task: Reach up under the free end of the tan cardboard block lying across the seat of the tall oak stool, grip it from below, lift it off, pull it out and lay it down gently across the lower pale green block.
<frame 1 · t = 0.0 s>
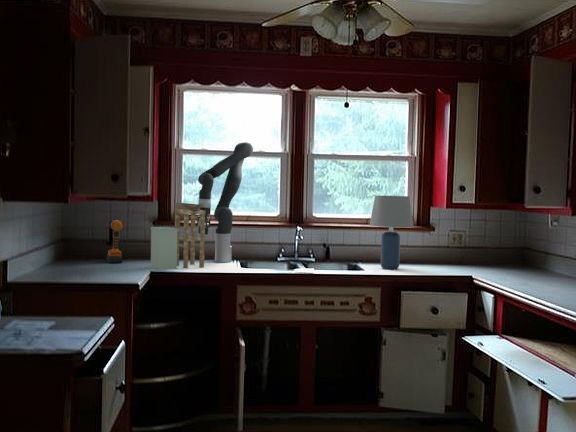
hand: (203, 233, 347), 17 cm above the worktop, tool pointing down, fingers open, 8 cm apart
lamp: (389, 269, 342), on the worktop
stool: (189, 266, 330), on the worktop
power drill: (113, 261, 342), on the worktop
pale green block: (163, 267, 322), on the worktop
tan cardboard block: (187, 209, 332), point 32 cm above the worktop, touching stool
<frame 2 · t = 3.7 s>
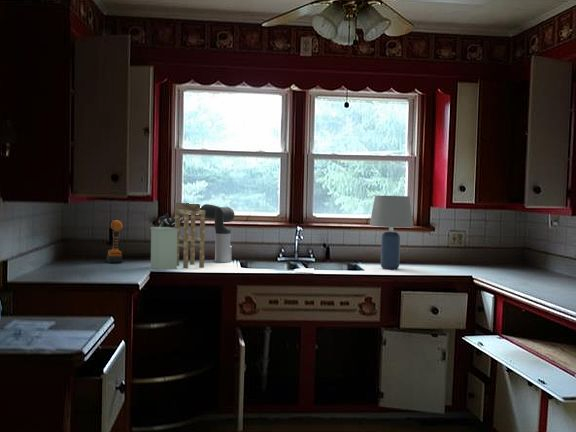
hand: (174, 214, 349), 28 cm above the worktop, tool pointing upward, fingers open, 8 cm apart
nothing on the worktop moved.
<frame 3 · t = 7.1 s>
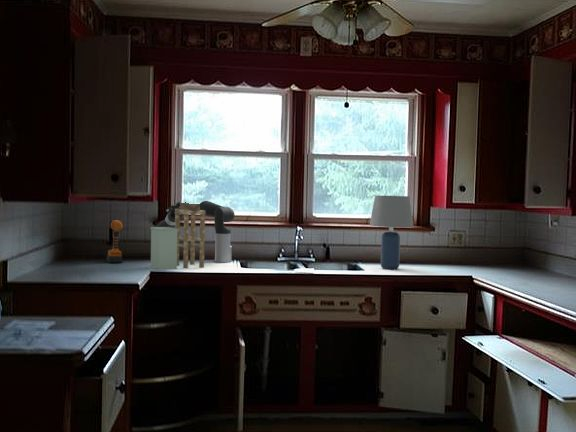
hand: (182, 203, 338), 35 cm above the worktop, tool pointing upward, fingers closed on tan cardboard block, 3 cm apart
tan cardboard block: (187, 209, 332), point 32 cm above the worktop, touching gripper, stool
everything else where it was.
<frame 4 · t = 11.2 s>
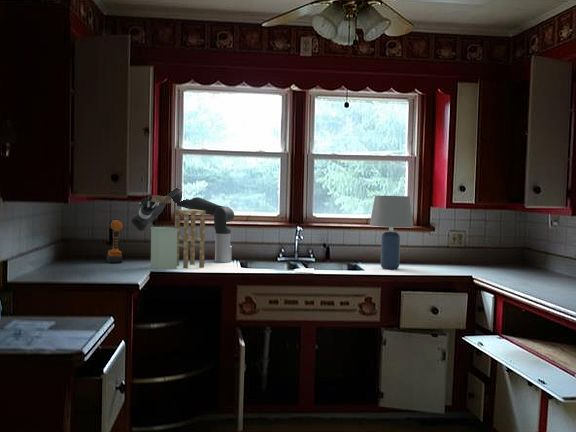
hand: (154, 196, 333), 39 cm above the worktop, tool pointing upward, fingers closed on tan cardboard block, 3 cm apart
tan cardboard block: (159, 202, 326), point 36 cm above the worktop, touching gripper
everything else where it was.
when the fingers open (26 cm above the worktop, at t = 15.3 s): tan cardboard block stays where it is, resting on pale green block.
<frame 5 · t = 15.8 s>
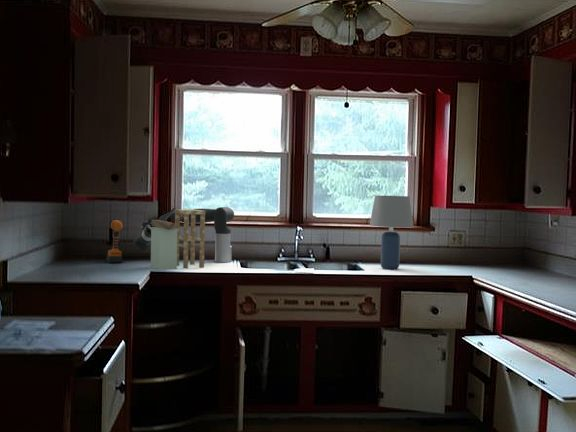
hand: (158, 219, 330), 26 cm above the worktop, tool pointing upward, fingers open, 8 cm apart
tan cardboard block: (162, 227, 323), point 22 cm above the worktop, touching pale green block
everything else where it was.
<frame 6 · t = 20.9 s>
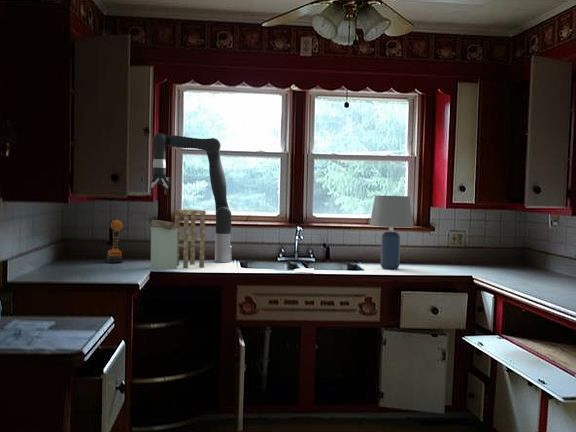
hand: (158, 194, 346), 40 cm above the worktop, tool pointing down, fingers open, 8 cm apart
nothing on the worktop moved.
at the end: tan cardboard block inside the target area on the pale green block (1.6 cm from its centre), point 22.0 cm above the pale green block's base; tan cardboard block touching pale green block; the gripper is holding nothing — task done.
